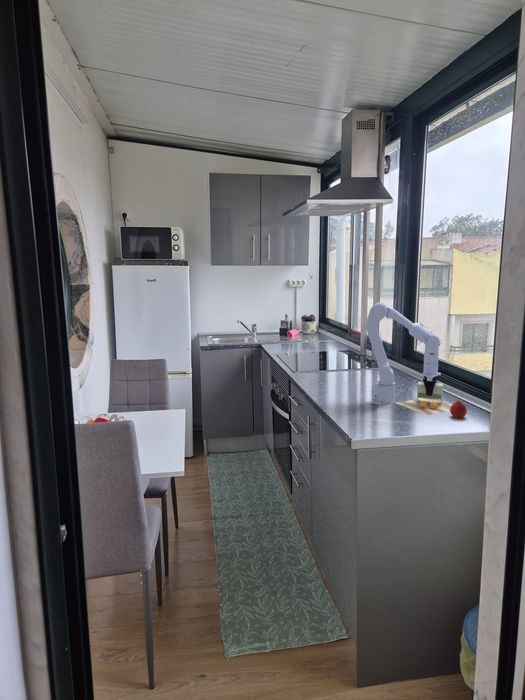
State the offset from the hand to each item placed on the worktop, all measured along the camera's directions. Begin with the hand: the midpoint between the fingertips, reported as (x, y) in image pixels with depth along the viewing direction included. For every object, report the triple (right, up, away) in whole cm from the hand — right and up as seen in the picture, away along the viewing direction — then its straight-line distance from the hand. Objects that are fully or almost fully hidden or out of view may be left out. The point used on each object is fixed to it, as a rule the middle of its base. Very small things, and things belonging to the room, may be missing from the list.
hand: (429, 393), depth 194 cm
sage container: (0, -3, 0) cm, 3 cm away
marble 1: (-5, -4, -6) cm, 8 cm away
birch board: (-1, -6, -2) cm, 6 cm away
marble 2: (-1, -4, -7) cm, 8 cm away
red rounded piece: (+4, -8, -18) cm, 20 cm away
